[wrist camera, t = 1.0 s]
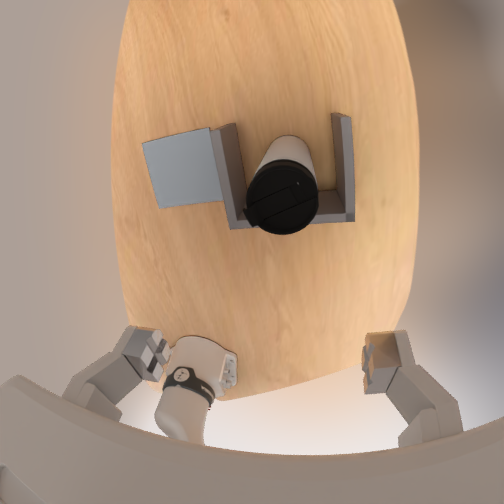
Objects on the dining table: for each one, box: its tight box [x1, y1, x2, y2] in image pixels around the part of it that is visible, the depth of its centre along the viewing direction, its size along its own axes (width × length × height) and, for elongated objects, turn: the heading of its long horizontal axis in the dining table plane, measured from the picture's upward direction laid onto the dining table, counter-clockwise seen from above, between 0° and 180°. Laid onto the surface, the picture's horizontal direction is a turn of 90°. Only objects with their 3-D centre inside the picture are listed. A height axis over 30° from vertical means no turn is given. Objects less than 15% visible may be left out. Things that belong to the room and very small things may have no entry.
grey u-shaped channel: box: [210, 113, 355, 230], centre depth 35 cm, size 13×16×9 cm
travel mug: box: [243, 135, 319, 235], centre depth 31 cm, size 6×7×20 cm
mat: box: [142, 127, 224, 209], centre depth 42 cm, size 12×12×1 cm
